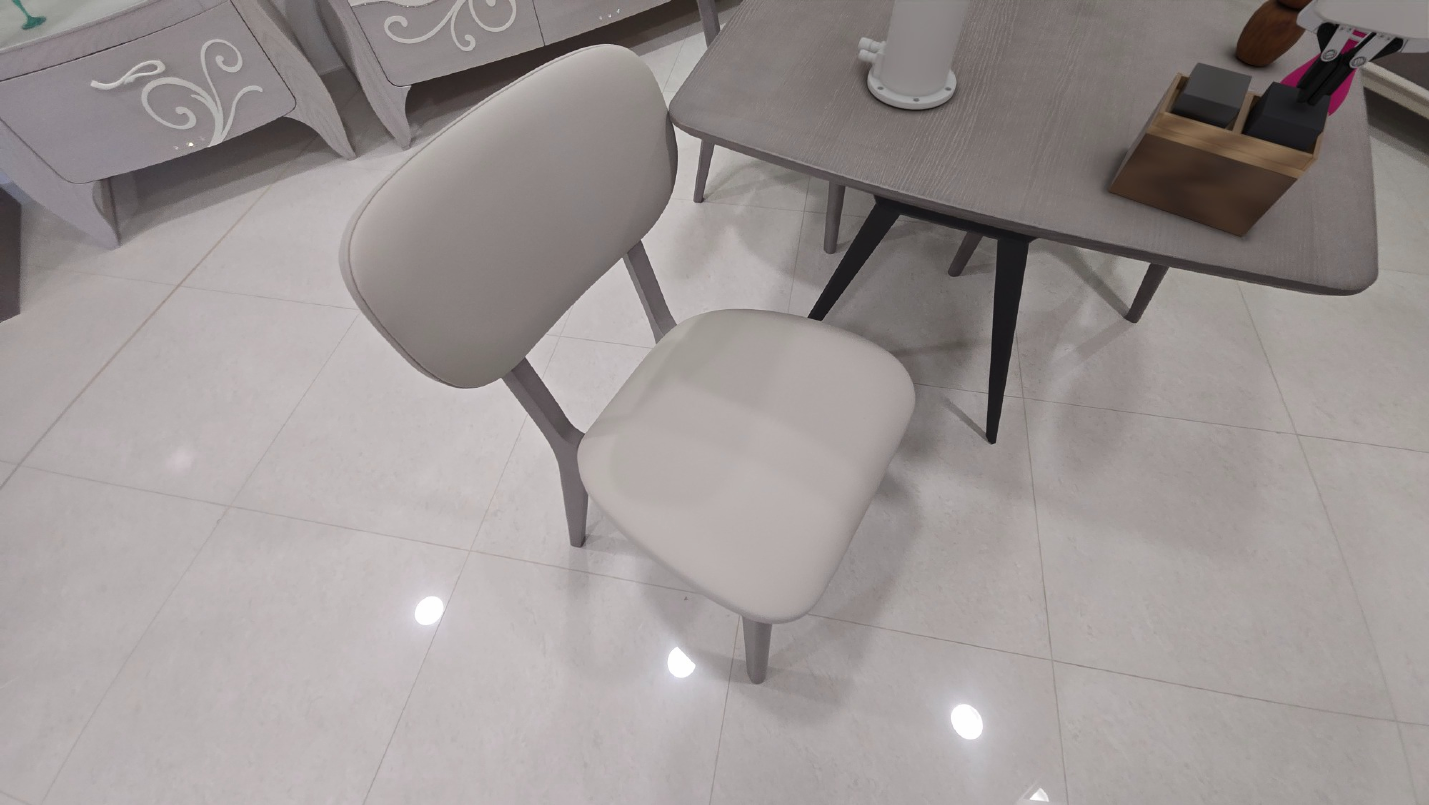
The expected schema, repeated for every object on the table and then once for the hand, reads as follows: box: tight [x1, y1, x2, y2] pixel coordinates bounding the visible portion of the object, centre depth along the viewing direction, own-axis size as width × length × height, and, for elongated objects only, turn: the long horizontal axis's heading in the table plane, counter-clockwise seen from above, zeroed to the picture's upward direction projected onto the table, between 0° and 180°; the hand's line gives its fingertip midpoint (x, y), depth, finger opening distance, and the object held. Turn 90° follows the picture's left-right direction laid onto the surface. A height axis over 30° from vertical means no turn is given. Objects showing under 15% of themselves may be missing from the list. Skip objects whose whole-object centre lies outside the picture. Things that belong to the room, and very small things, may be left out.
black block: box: [1242, 81, 1331, 152], centre depth 63 cm, size 6×7×4 cm
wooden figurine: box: [1235, 0, 1313, 67], centre depth 81 cm, size 7×6×15 cm
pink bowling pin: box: [1279, 28, 1370, 117], centre depth 70 cm, size 7×7×20 cm
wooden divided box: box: [1107, 62, 1329, 237], centre depth 68 cm, size 15×9×12 cm, turn 56°
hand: (1306, 97), depth 60 cm, fingers closed
